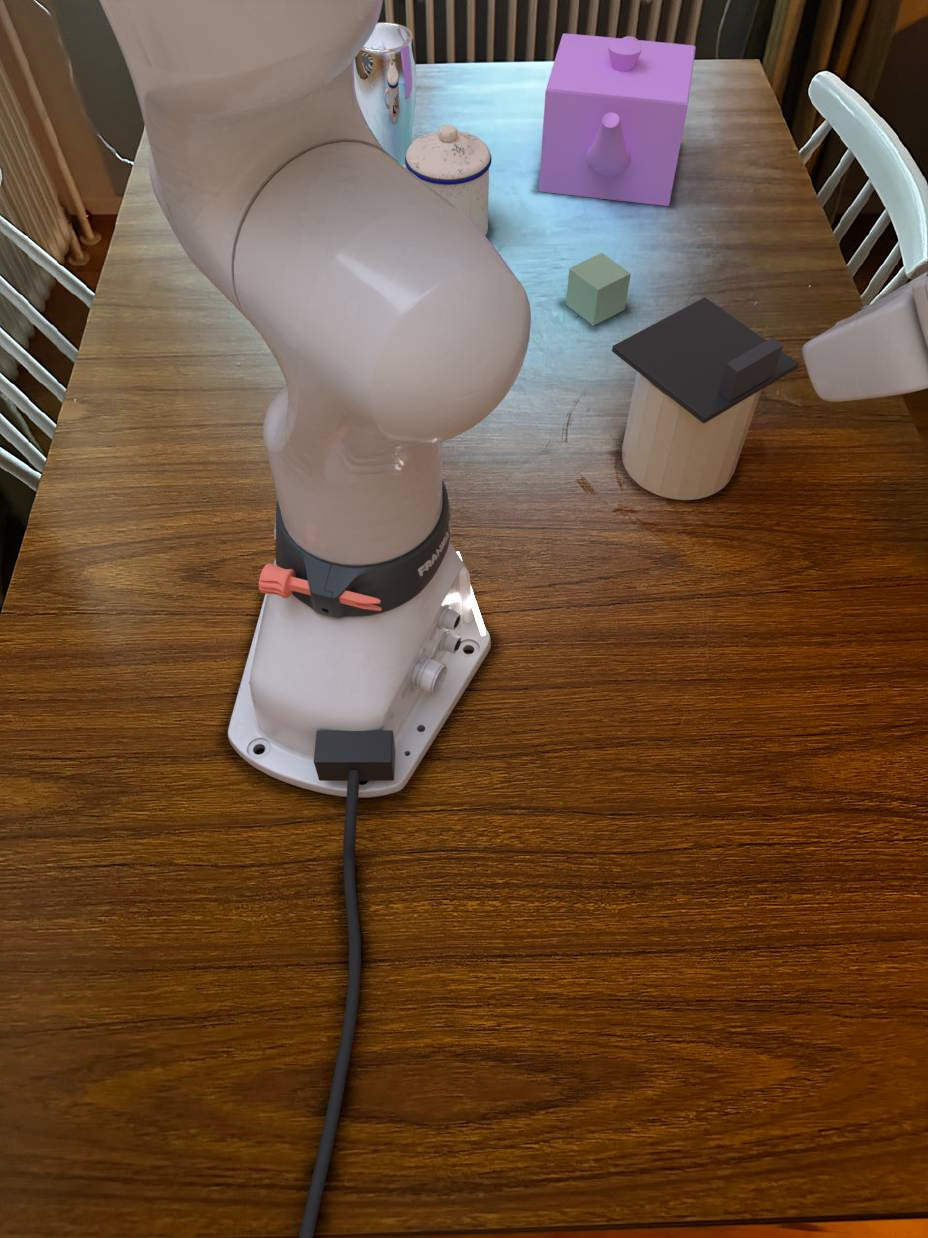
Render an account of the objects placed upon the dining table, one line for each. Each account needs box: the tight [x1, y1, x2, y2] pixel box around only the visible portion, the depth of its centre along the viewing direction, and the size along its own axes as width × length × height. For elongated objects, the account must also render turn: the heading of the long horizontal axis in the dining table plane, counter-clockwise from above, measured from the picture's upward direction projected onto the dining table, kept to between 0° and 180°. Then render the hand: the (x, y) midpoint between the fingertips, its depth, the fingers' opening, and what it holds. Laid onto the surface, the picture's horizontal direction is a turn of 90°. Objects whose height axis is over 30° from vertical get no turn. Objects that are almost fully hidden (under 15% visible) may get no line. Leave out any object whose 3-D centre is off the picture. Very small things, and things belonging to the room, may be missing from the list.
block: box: [565, 252, 631, 327], centre depth 97 cm, size 4×4×4 cm
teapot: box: [538, 33, 696, 207], centre depth 108 cm, size 15×25×14 cm, turn 169°
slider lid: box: [611, 296, 800, 424], centre depth 76 cm, size 11×11×4 cm
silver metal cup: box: [354, 21, 418, 165], centre depth 108 cm, size 7×7×15 cm
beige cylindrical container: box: [621, 371, 763, 501], centre depth 82 cm, size 10×10×11 cm
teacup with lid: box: [402, 124, 492, 237], centre depth 102 cm, size 12×9×12 cm
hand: (850, 327), depth 64 cm, fingers closed
